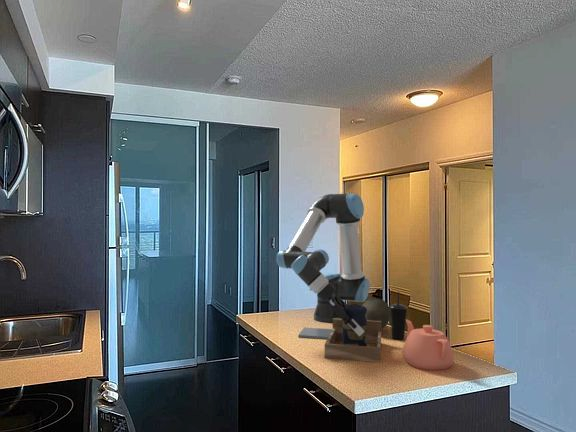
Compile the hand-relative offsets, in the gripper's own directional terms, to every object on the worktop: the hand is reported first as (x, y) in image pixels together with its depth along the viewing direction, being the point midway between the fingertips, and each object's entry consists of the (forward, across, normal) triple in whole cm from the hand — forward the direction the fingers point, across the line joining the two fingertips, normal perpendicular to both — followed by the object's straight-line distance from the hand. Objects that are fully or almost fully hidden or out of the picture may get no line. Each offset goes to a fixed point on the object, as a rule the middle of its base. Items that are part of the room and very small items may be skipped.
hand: (362, 330), depth 171 cm
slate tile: (-10, -20, -20) cm, 30 cm away
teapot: (+22, +9, +10) cm, 26 cm away
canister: (+3, 0, -8) cm, 9 cm away
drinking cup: (+15, -22, +4) cm, 27 cm away
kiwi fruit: (+8, -32, -3) cm, 33 cm away
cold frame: (+3, 0, -8) cm, 8 cm away
